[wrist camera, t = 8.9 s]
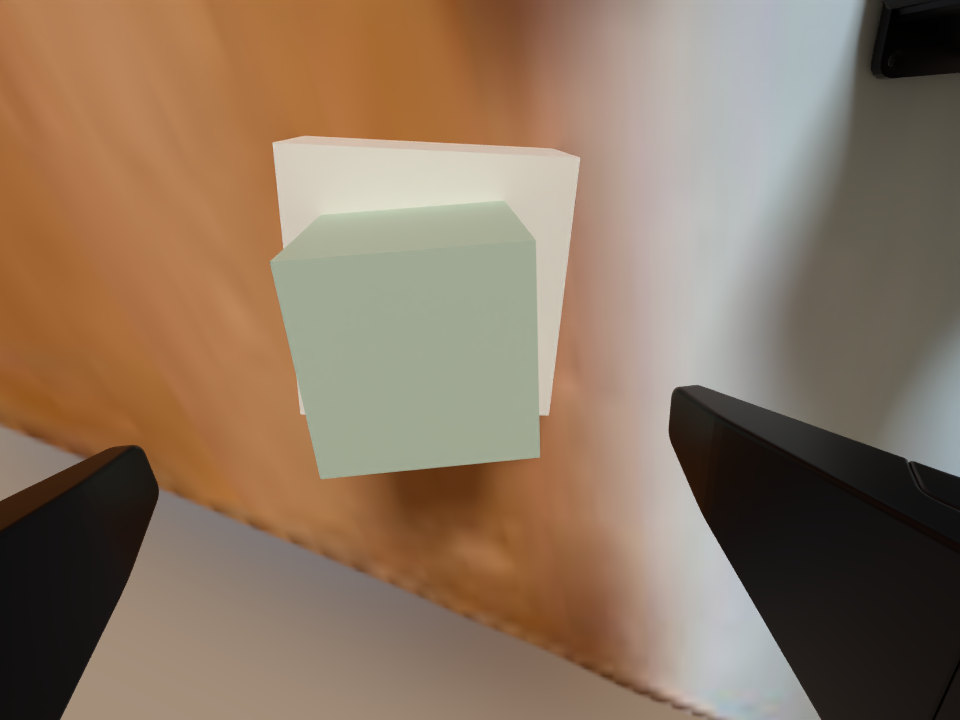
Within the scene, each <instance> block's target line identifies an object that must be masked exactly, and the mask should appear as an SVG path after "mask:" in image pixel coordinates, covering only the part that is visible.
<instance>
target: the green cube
mask: <svg viewBox="0 0 960 720" xmlns="http://www.w3.org/2000/svg"><path fill="white" fill-rule="evenodd" d="M270 265H271V269H272V274H273V278H274V282H275V286H276V291H277V295H278V299H279V304H280V308H281V312H282V316H283V321H284V325H285V329H286V333H287V338H288V342H289V346H290V351H291V355H292V359H293V363H294V368H295V372H296V376H297V380H298V385H299V389H300V393H301V398H302V402H303V406H304V410H305V415H306V419H307V423H308V427H309V432H310V436H311V440H312V444H313V449H314V453H315V457H316V462H317V466H318V470H319V474H320V479H328V478H338V477H348V476H358V475H368V474H378V473H388V472H398V471H408V470H418V469H428V468H438V467H448V466H458V465H468V464H478V463H488V462H498V461H509V460H519V459H529V458H539V457H540V431H539V379H538V327H537V275H536V240H535V239H534V237H533V236H532V235H531V233H530V232H529V231H528V230H527V228H526V227H525V226H524V225H523V223H522V222H521V221H520V219H519V218H518V217H517V216H516V214H515V213H514V212H513V211H512V209H511V208H510V207H509V206H508V204H507V203H506V202H505V200H504V201H491V202H478V203H465V204H453V205H440V206H427V207H414V208H401V209H388V210H376V211H363V212H350V213H337V214H324V215H320V216H319V217H318V218H317V219H316V220H314V221H313V222H312V223H311V224H310V225H309V226H308V227H307V228H306V229H305V230H304V231H303V232H302V233H300V234H299V235H298V236H297V237H296V238H295V239H294V240H293V241H292V242H291V243H290V244H289V245H287V246H286V247H285V248H284V249H283V250H282V251H281V252H280V253H279V254H278V255H277V256H276V257H275V258H273V259H272V260H271V261H270Z"/></svg>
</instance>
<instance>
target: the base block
mask: <svg viewBox="0 0 960 720" xmlns="http://www.w3.org/2000/svg"><path fill="white" fill-rule="evenodd" d="M273 152H274V162H275V171H276V181H277V191H278V201H279V210H280V220H281V230H282V239H283V249H284V248H285V247H286V246H287V245H289V244H290V243H291V242H292V241H293V240H294V239H295V238H296V237H297V236H298V235H299V234H300V233H302V232H303V231H304V230H305V229H306V228H307V227H308V226H309V225H310V224H311V223H312V222H313V221H314V220H316V219H317V218H318V217H319V216H320V215H324V214H337V213H350V212H363V211H376V210H388V209H401V208H414V207H427V206H440V205H453V204H465V203H478V202H491V201H504V200H505V202H506V203H507V204H508V206H509V207H510V208H511V209H512V211H513V212H514V213H515V214H516V216H517V217H518V218H519V219H520V221H521V222H522V223H523V225H524V226H525V227H526V228H527V230H528V231H529V232H530V233H531V235H532V236H533V237H534V239H535V240H536V275H537V327H538V379H539V415H549V410H550V402H551V393H552V385H553V377H554V369H555V361H556V352H557V344H558V336H559V328H560V320H561V311H562V303H563V295H564V287H565V279H566V270H567V262H568V254H569V246H570V238H571V229H572V221H573V213H574V205H575V197H576V188H577V180H578V172H579V164H580V158H579V157H576V156H573V155H570V154H567V153H564V152H561V151H558V150H556V149H551V148H531V147H512V146H492V145H473V144H453V143H433V142H414V141H394V140H375V139H355V138H336V137H316V136H301V137H296V138H292V139H287V140H282V141H278V142H273ZM297 385H298V380H297ZM298 395H299V405H300V414H305V410H304V406H303V402H302V398H301V393H300V389H299V385H298Z"/></svg>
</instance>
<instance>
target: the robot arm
mask: <svg viewBox="0 0 960 720" xmlns="http://www.w3.org/2000/svg"><path fill="white" fill-rule="evenodd" d="M892 54H893V55H894V63H893V65H892V66H891V67H889V66H888V60H889V58H890V56H891V55H892ZM871 70H872V73H873V75H874V76H875V77H876V78H880V79H889V78H902V77H913V76H925V75H937V74H948V73H960V0H884V3H883V8H882V13H881V18H880V23H879V28H878V32H877V37H876V42H875V47H874V52H873V57H872V62H871ZM669 437H670V441H671V444H672V446H673V448H674V451H675V453H676V455H677V458H678V460H679V462H680V465H681V467H682V469H683V472H684V474H685V476H686V478H687V481H688V483H689V485H690V488H691V490H692V492H693V495H694V497H695V499H696V502H697V504H698V506H699V508H700V510H701V512H702V514H703V516H704V518H705V520H706V522H707V524H708V525H709V527H710V529H711V531H712V532H713V534H714V536H715V537H716V539H717V541H718V543H719V544H720V546H721V548H722V550H723V551H724V553H725V555H726V556H727V558H728V560H729V562H730V563H731V565H732V567H733V568H734V570H735V572H736V574H737V575H738V577H739V579H740V581H741V582H742V584H743V586H744V587H745V589H746V591H747V593H748V594H749V596H750V598H751V599H752V601H753V603H754V605H755V606H756V608H757V610H758V612H759V613H760V615H761V617H762V618H763V620H764V622H765V624H766V625H767V627H768V629H769V630H770V632H771V634H772V636H773V637H774V639H775V641H776V643H777V644H778V646H779V648H780V649H781V651H782V653H783V655H784V656H785V658H786V660H787V661H788V663H789V665H790V667H791V668H792V670H793V672H794V674H795V675H796V677H797V679H798V680H799V682H800V684H801V686H802V687H803V689H804V691H805V692H806V694H807V696H808V698H809V699H810V701H811V703H812V704H813V706H814V708H815V710H816V711H817V713H818V715H819V717H820V718H821V720H960V477H957V476H954V475H951V474H948V473H946V472H943V471H940V470H937V469H934V468H931V467H928V466H926V465H923V464H920V463H917V462H914V461H910V462H908V460H907V459H905V458H903V457H900V456H897V455H894V454H891V453H889V452H886V451H883V450H880V449H877V448H875V447H872V446H869V445H866V444H863V443H860V442H858V441H855V440H852V439H849V438H846V437H844V436H841V435H838V434H835V433H832V432H829V431H827V430H824V429H821V428H818V427H815V426H813V425H810V424H807V423H804V422H801V421H798V420H796V419H793V418H790V417H787V416H784V415H781V414H779V413H776V412H773V411H770V410H767V409H765V408H762V407H759V406H756V405H753V404H750V403H748V402H745V401H742V400H739V399H736V398H734V397H731V396H728V395H725V394H722V393H719V392H717V391H714V390H711V389H708V388H705V387H703V386H699V385H692V386H683V387H677V388H675V389H674V391H673V393H672V397H671V407H670V419H669ZM158 495H159V488H158V484H157V481H156V478H155V476H154V474H153V471H152V469H151V466H150V464H149V461H148V459H147V457H146V454H145V452H144V450H143V449H142V448H141V447H139V446H137V445H127V446H117V447H111V448H109V449H106V450H104V451H102V452H100V453H98V454H96V455H94V456H92V457H90V458H88V459H86V460H84V461H82V462H80V463H78V464H76V465H74V466H72V467H69V468H67V469H65V470H63V471H61V472H59V473H57V474H55V475H53V476H51V477H49V478H47V479H45V480H43V481H41V482H39V483H37V484H35V485H32V486H30V487H28V488H26V489H24V490H22V491H20V492H18V493H16V494H14V495H12V496H10V497H8V498H6V499H4V500H2V501H0V720H60V719H61V717H62V715H63V713H64V711H65V709H66V707H67V705H68V703H69V701H70V699H71V697H72V694H73V693H74V690H75V688H76V686H77V684H78V682H79V680H80V678H81V676H82V674H83V672H84V670H85V668H86V666H87V664H88V662H89V660H90V658H91V656H92V654H93V652H94V650H95V647H96V646H97V643H98V641H99V639H100V637H101V635H102V633H103V631H104V629H105V627H106V625H107V623H108V621H109V619H110V617H111V615H112V613H113V611H114V609H115V607H116V605H117V602H118V600H119V599H120V596H121V594H122V592H123V590H124V588H125V585H126V583H127V581H128V579H129V576H130V573H131V571H132V569H133V566H134V563H135V561H136V558H137V555H138V552H139V550H140V547H141V544H142V541H143V539H144V536H145V533H146V531H147V528H148V525H149V522H150V520H151V517H152V514H153V511H154V509H155V506H156V503H157V500H158Z"/></svg>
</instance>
